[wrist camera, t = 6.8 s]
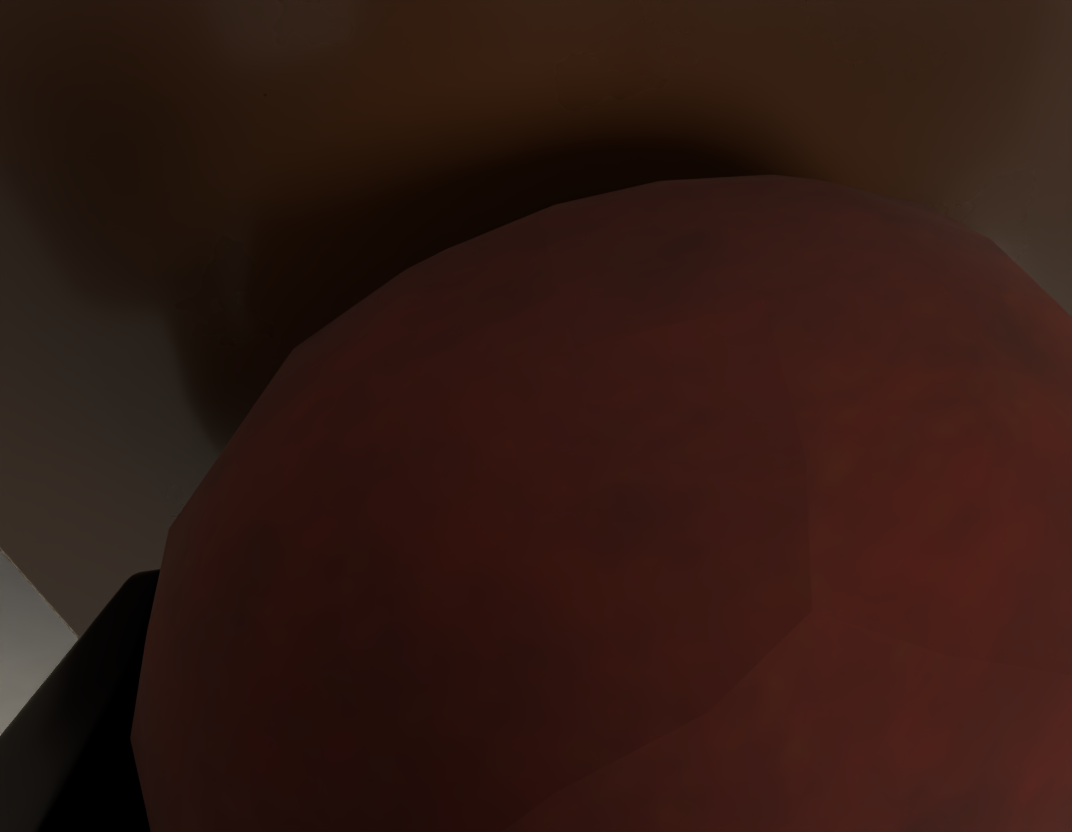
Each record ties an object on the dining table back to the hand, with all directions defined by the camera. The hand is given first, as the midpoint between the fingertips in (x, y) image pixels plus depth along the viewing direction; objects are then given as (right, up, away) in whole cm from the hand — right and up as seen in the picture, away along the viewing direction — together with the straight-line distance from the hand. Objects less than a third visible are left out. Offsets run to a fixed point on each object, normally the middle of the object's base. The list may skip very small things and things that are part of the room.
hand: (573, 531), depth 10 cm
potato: (0, +1, +1) cm, 1 cm away
